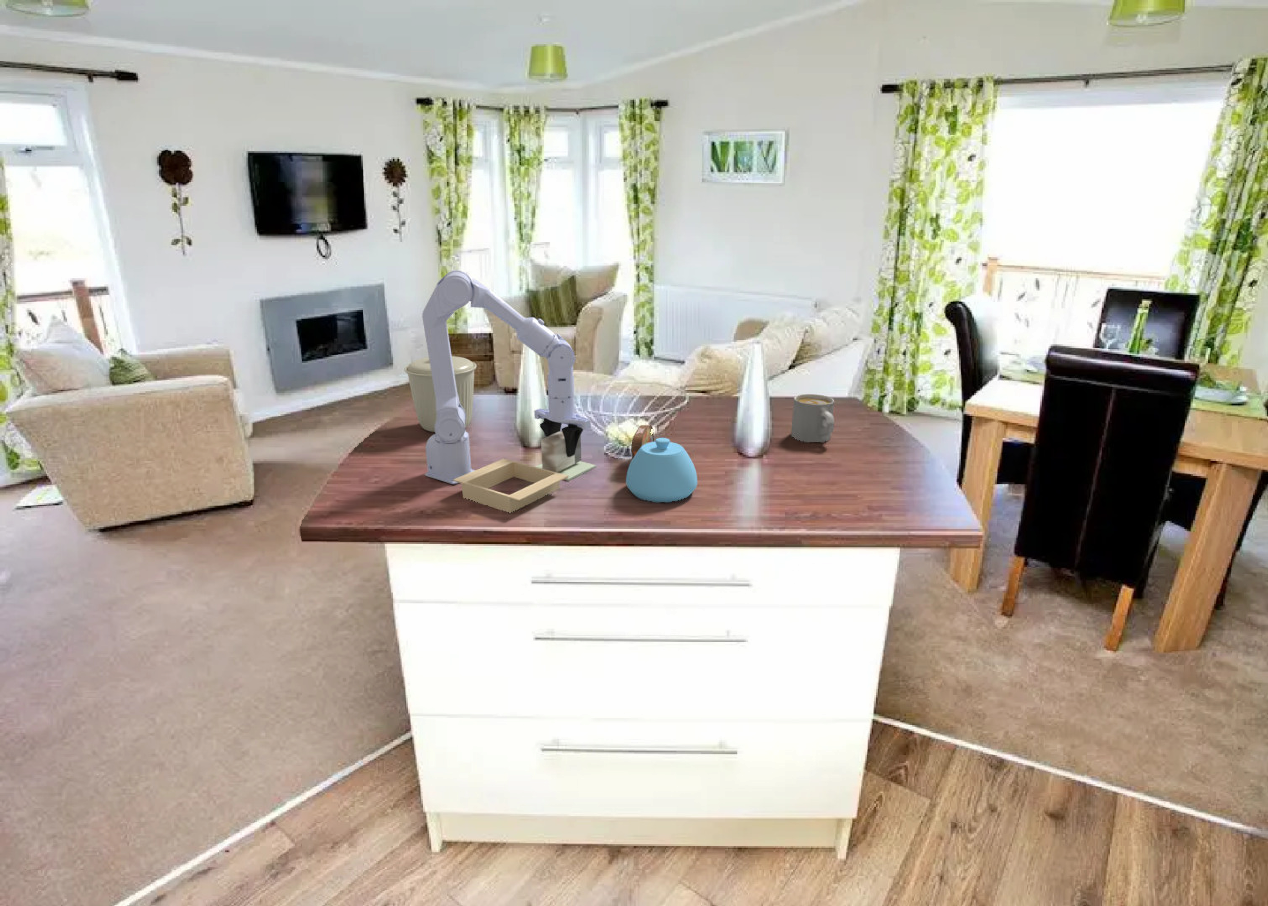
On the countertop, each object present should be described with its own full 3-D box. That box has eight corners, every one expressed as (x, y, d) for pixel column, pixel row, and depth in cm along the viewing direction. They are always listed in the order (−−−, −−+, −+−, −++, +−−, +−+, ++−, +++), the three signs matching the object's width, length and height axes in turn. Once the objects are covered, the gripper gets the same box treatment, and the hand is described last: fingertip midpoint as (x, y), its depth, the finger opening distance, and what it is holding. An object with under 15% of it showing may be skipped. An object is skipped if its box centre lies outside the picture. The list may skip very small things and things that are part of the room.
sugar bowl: (687, 475, 164) (689, 426, 160) (704, 503, 150) (707, 449, 146) (620, 479, 161) (620, 429, 157) (632, 507, 147) (632, 453, 143)
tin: (643, 476, 163) (643, 440, 160) (629, 475, 164) (629, 439, 161) (654, 453, 177) (655, 420, 174) (642, 452, 177) (642, 419, 175)
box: (542, 468, 164) (540, 439, 161) (567, 456, 171) (566, 428, 168) (556, 472, 162) (554, 442, 159) (581, 460, 169) (580, 431, 166)
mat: (530, 470, 166) (530, 468, 166) (558, 457, 174) (558, 455, 173) (568, 480, 160) (568, 478, 160) (596, 467, 168) (596, 465, 168)
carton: (454, 495, 152) (453, 479, 151) (505, 473, 164) (504, 458, 163) (519, 516, 143) (519, 499, 142) (568, 491, 155) (568, 475, 154)
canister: (427, 415, 205) (420, 340, 197) (489, 418, 202) (484, 343, 195) (399, 436, 188) (390, 355, 181) (466, 439, 186) (460, 357, 178)
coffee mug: (785, 431, 193) (788, 394, 190) (821, 429, 195) (825, 393, 191) (804, 448, 181) (807, 409, 177) (842, 446, 182) (846, 407, 179)
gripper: (598, 396, 160) (599, 454, 165) (547, 386, 168) (549, 442, 173) (578, 404, 155) (580, 464, 159) (527, 393, 162) (529, 451, 167)
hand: (563, 453), depth 166 cm, fingers closed on box, 4 cm apart
